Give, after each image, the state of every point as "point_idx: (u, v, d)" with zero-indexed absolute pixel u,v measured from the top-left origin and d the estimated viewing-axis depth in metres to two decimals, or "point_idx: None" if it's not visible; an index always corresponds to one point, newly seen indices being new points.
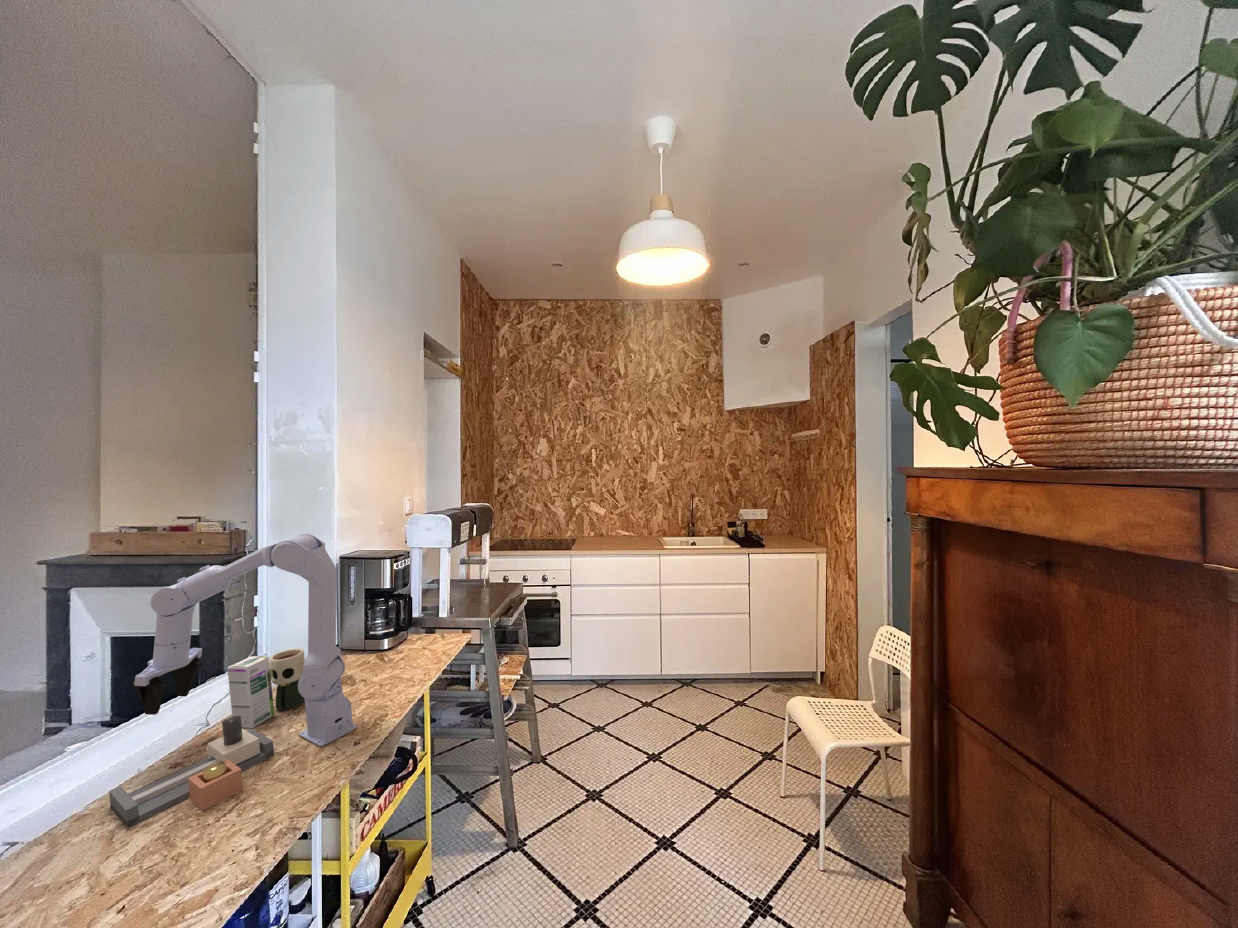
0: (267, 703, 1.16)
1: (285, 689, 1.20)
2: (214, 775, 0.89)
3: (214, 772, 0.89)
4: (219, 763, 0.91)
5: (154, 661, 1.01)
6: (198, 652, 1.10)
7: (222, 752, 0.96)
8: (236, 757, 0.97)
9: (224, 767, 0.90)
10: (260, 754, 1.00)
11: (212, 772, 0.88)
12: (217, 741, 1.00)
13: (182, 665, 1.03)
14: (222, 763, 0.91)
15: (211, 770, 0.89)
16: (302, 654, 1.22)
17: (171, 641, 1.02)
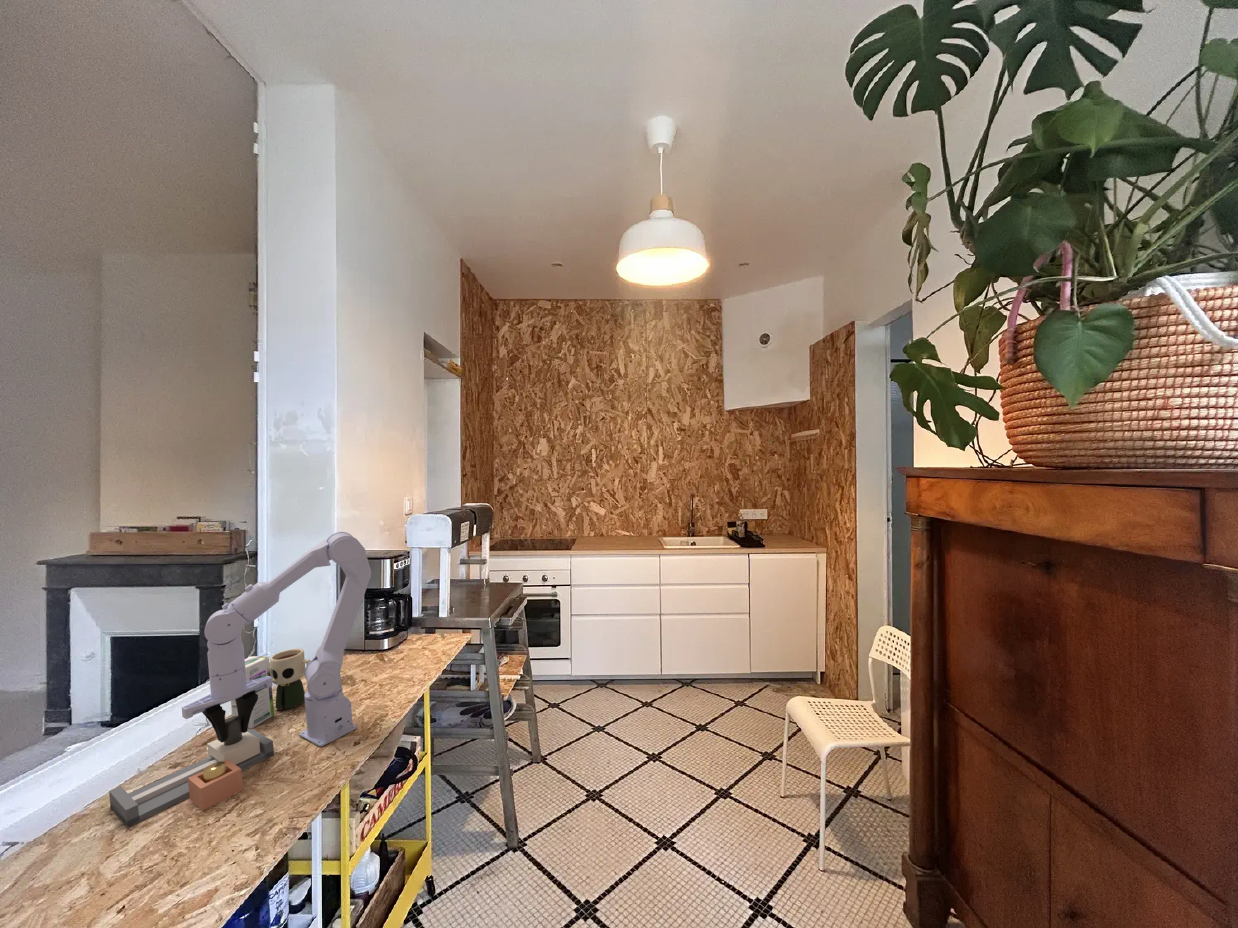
0: (267, 703, 1.16)
1: (285, 689, 1.20)
2: (214, 775, 0.89)
3: (214, 772, 0.89)
4: (219, 763, 0.91)
5: None
6: (265, 681, 1.04)
7: (222, 752, 0.96)
8: (236, 757, 0.97)
9: (224, 767, 0.90)
10: (260, 754, 1.00)
11: (212, 772, 0.88)
12: (217, 741, 1.00)
13: (230, 698, 0.97)
14: (222, 763, 0.91)
15: (211, 770, 0.89)
16: (302, 654, 1.22)
17: (234, 668, 0.98)
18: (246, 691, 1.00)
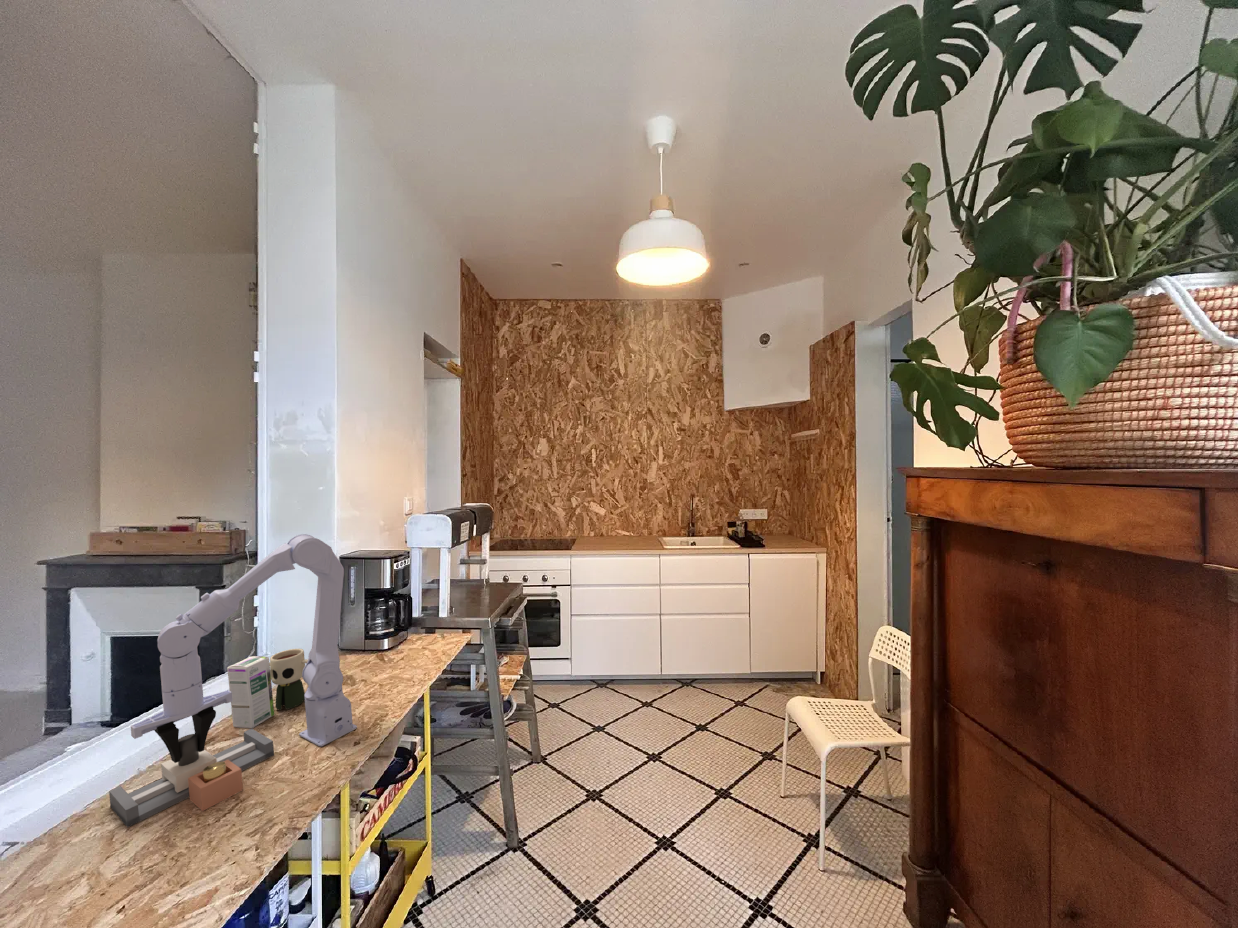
0: (267, 703, 1.16)
1: (285, 689, 1.20)
2: (214, 775, 0.89)
3: (214, 772, 0.89)
4: (219, 763, 0.91)
5: None
6: (225, 697, 0.98)
7: (175, 773, 0.90)
8: None
9: (224, 767, 0.90)
10: (260, 754, 1.00)
11: (212, 772, 0.88)
12: (172, 761, 0.94)
13: (184, 715, 0.91)
14: (222, 763, 0.91)
15: (211, 770, 0.89)
16: (302, 654, 1.22)
17: (191, 682, 0.92)
18: (202, 707, 0.94)
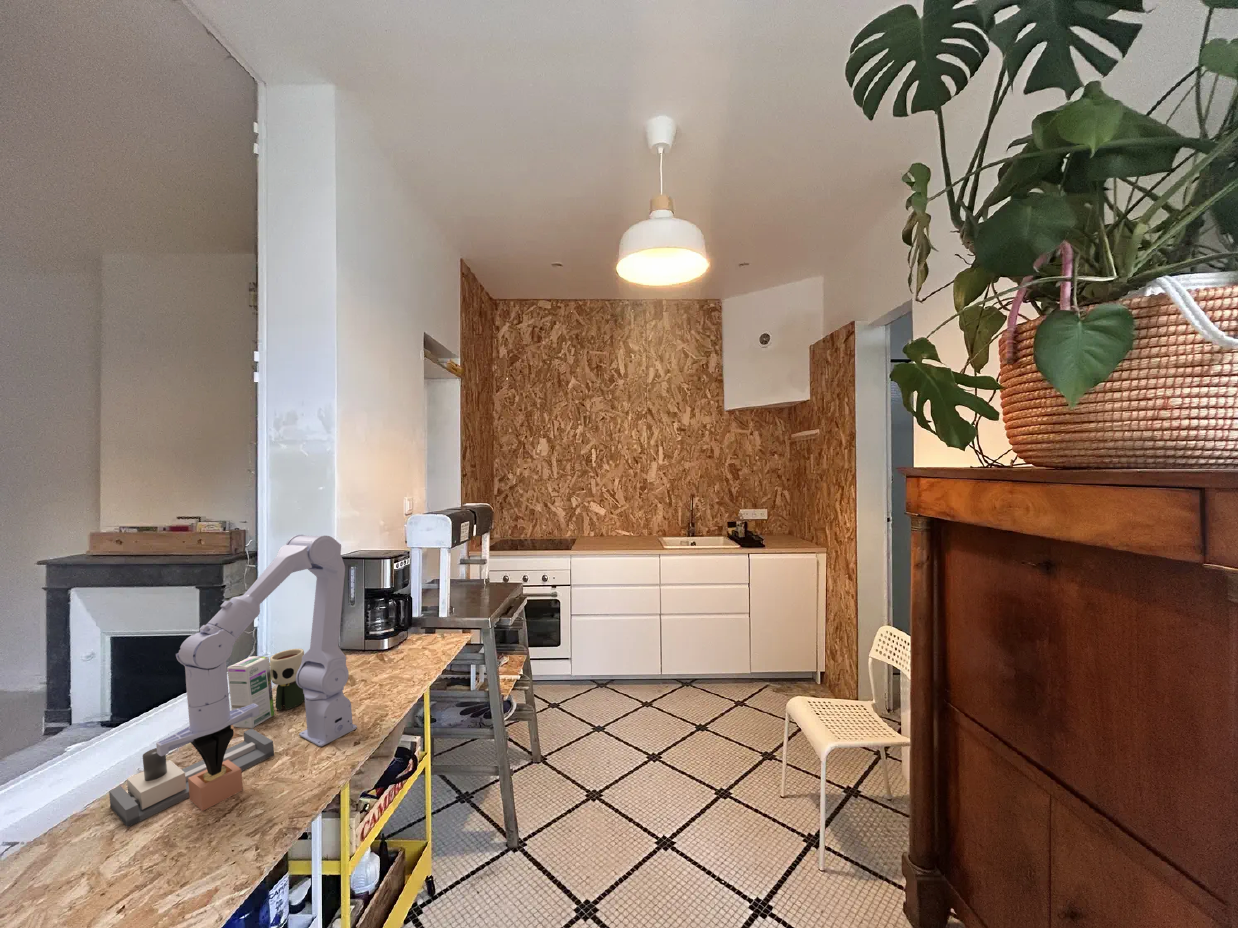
0: (267, 703, 1.16)
1: (285, 689, 1.20)
2: None
3: (214, 777, 0.89)
4: None
5: None
6: (251, 710, 0.94)
7: (140, 789, 0.86)
8: (156, 794, 0.87)
9: (224, 772, 0.90)
10: (260, 754, 1.00)
11: (212, 777, 0.88)
12: (138, 775, 0.90)
13: (211, 731, 0.87)
14: (223, 768, 0.91)
15: None
16: (302, 654, 1.22)
17: (224, 693, 0.90)
18: (229, 722, 0.90)
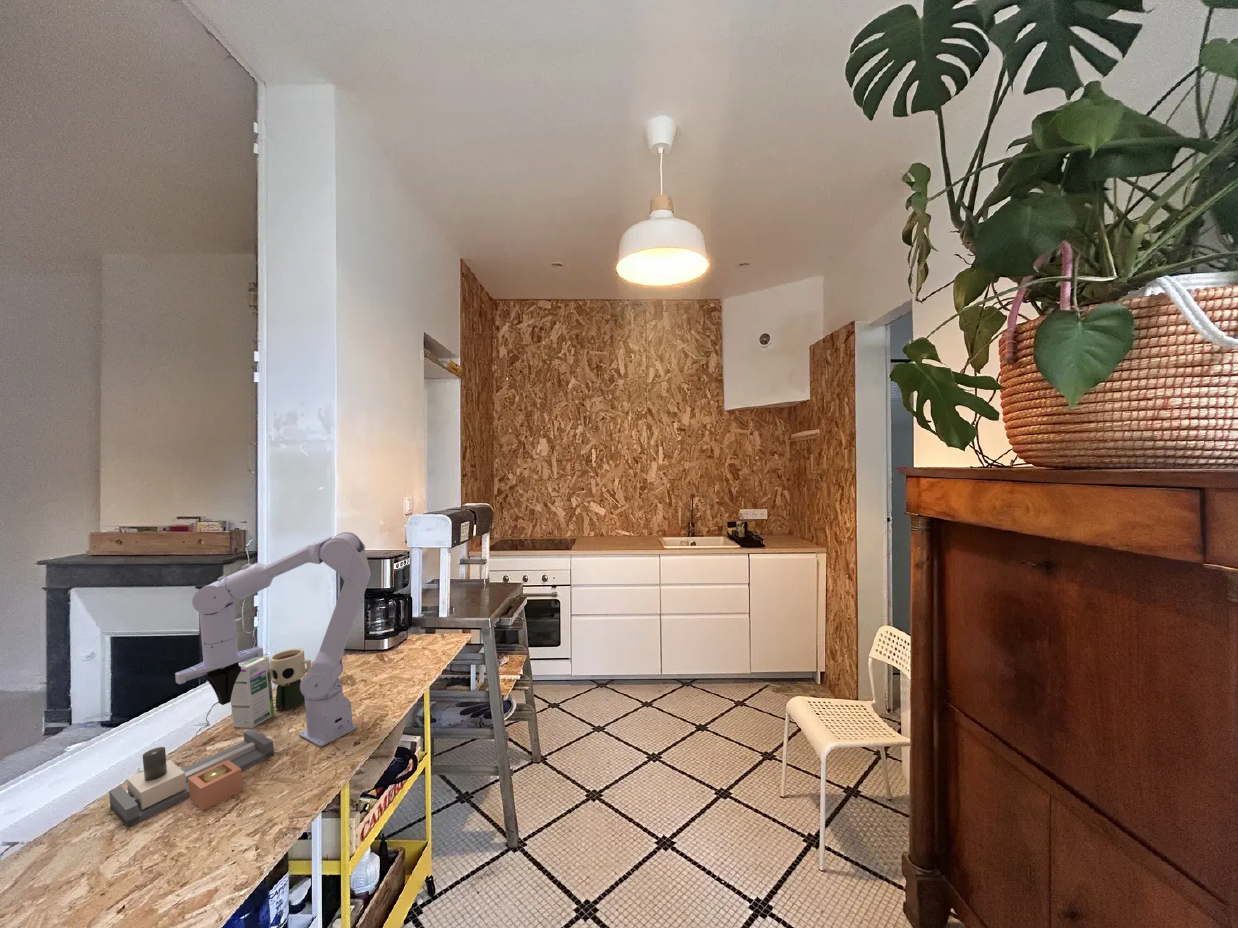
0: (267, 703, 1.16)
1: (285, 689, 1.20)
2: None
3: (214, 777, 0.89)
4: (219, 768, 0.91)
5: None
6: (256, 652, 1.08)
7: (140, 789, 0.86)
8: (156, 794, 0.87)
9: (224, 772, 0.90)
10: (260, 754, 1.00)
11: (212, 777, 0.88)
12: (138, 775, 0.90)
13: (222, 665, 1.01)
14: (223, 769, 0.91)
15: (212, 776, 0.89)
16: (302, 654, 1.22)
17: (220, 638, 1.01)
18: (237, 660, 1.04)
